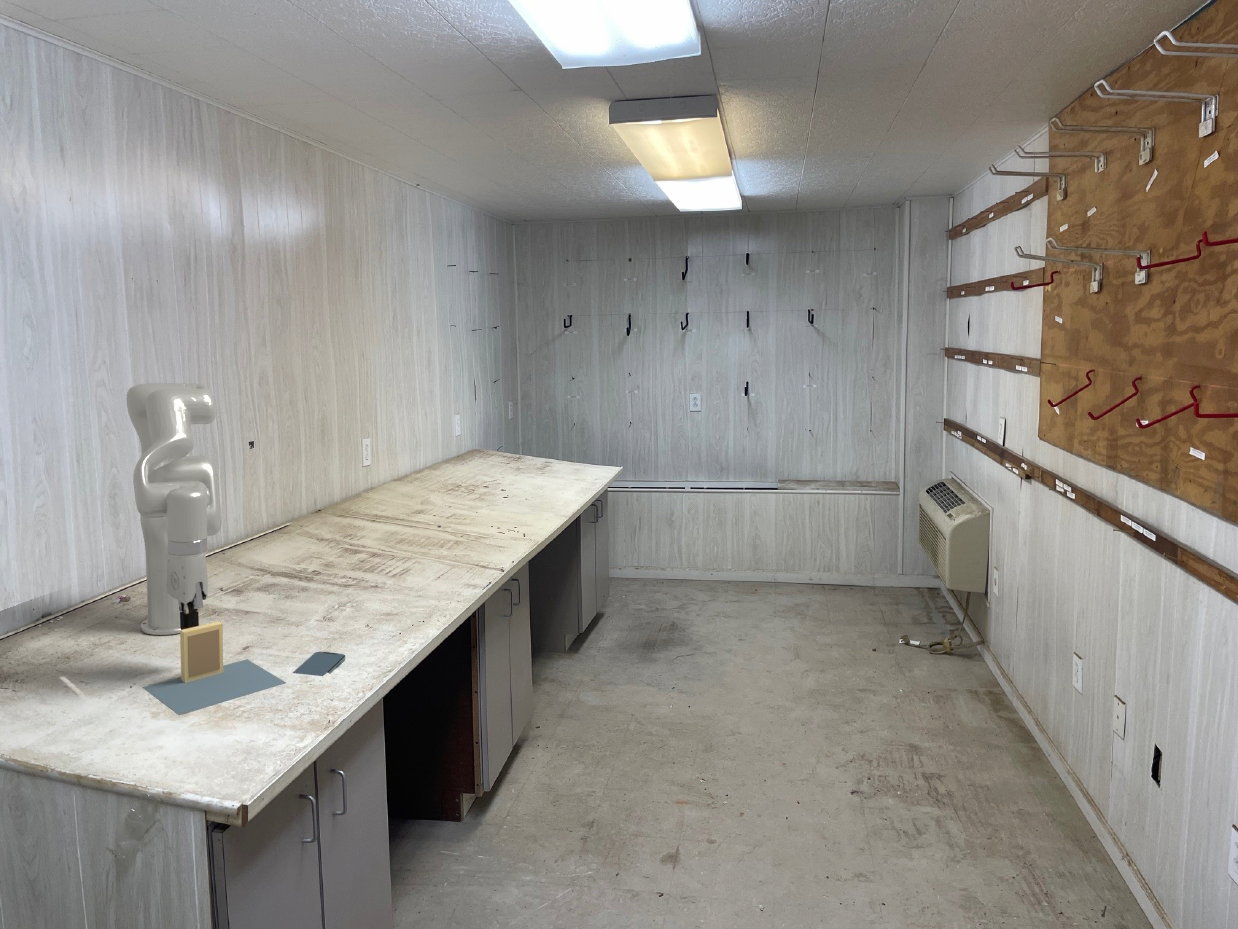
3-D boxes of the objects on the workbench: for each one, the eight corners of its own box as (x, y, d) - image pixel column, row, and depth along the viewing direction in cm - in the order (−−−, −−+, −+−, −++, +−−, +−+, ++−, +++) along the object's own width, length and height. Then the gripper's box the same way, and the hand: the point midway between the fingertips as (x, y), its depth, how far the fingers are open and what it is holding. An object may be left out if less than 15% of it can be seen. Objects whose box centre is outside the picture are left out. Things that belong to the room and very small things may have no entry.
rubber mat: (142, 691, 174) (142, 687, 174) (247, 662, 191) (247, 659, 190) (179, 719, 163) (179, 715, 163) (286, 686, 180) (286, 682, 180)
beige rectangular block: (181, 680, 178) (180, 630, 176) (219, 669, 184) (218, 621, 182) (185, 683, 177) (184, 632, 175) (223, 672, 183) (222, 623, 181)
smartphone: (283, 678, 182) (315, 650, 196) (283, 686, 182) (315, 657, 197) (317, 682, 181) (347, 653, 196) (317, 689, 181) (347, 660, 196)
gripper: (154, 542, 181) (156, 624, 184) (185, 557, 172) (187, 643, 175) (190, 536, 187) (191, 616, 190) (222, 551, 178) (223, 634, 181)
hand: (189, 629), depth 182 cm, fingers closed
